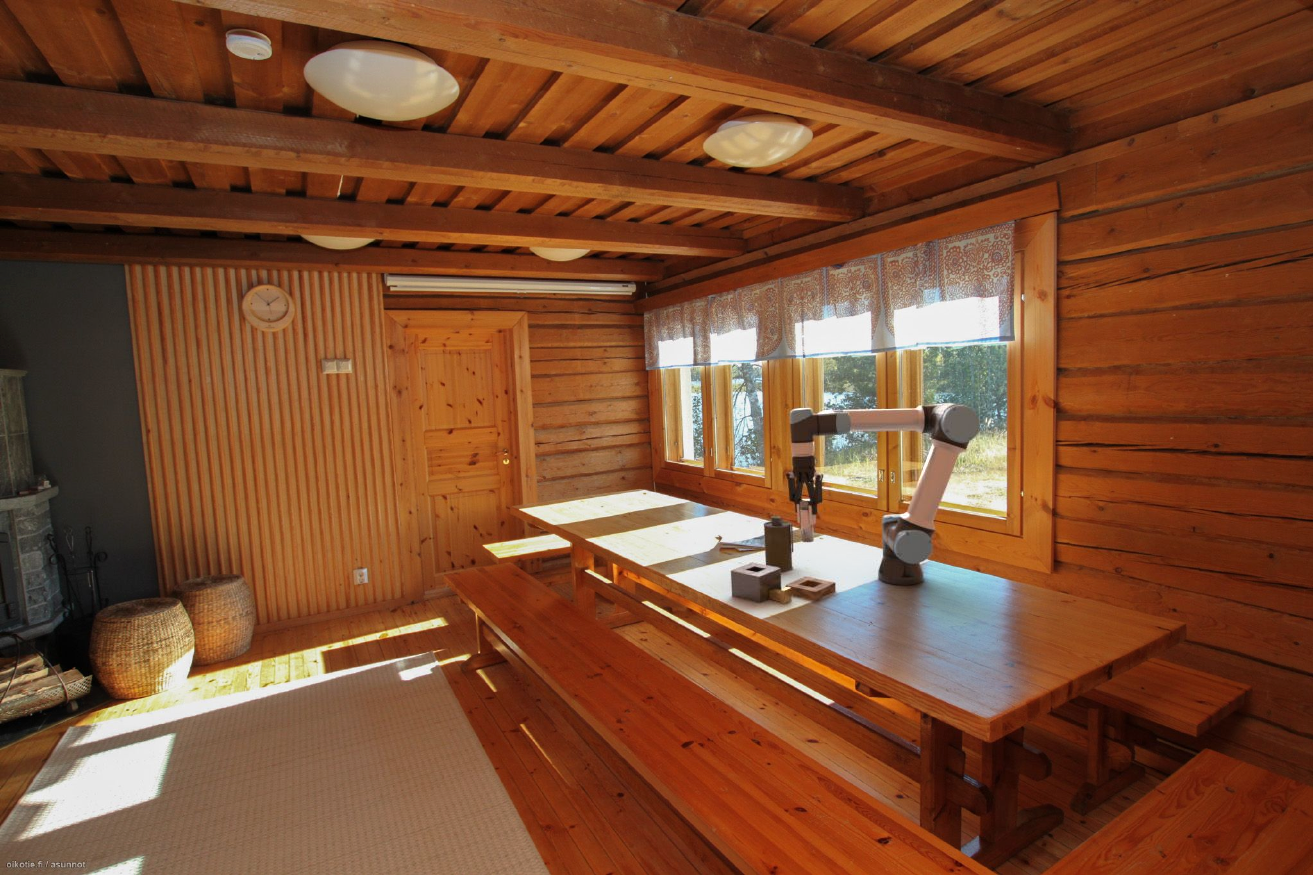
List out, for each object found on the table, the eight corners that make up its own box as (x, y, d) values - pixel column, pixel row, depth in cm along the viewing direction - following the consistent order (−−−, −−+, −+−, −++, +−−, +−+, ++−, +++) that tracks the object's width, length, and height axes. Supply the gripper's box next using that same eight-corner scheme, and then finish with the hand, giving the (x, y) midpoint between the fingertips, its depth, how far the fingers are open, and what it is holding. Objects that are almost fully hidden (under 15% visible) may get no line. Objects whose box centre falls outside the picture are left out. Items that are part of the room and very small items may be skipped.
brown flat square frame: (835, 591, 232) (835, 582, 232) (816, 600, 224) (815, 591, 223) (805, 584, 240) (805, 576, 240) (785, 593, 232) (785, 585, 232)
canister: (761, 570, 260) (759, 519, 258) (770, 563, 269) (768, 513, 267) (789, 573, 254) (787, 520, 253) (797, 565, 264) (795, 514, 262)
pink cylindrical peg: (816, 540, 230) (814, 499, 229) (809, 542, 227) (807, 501, 226) (806, 538, 233) (803, 498, 232) (799, 541, 230) (797, 500, 229)
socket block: (781, 593, 232) (780, 568, 231) (760, 603, 224) (759, 576, 223) (753, 587, 241) (752, 562, 240) (731, 596, 232) (730, 570, 232)
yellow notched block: (791, 600, 224) (791, 587, 224) (784, 604, 222) (784, 590, 221) (762, 593, 233) (761, 581, 233) (755, 596, 230) (754, 584, 230)
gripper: (831, 454, 224) (835, 523, 226) (788, 452, 236) (792, 518, 238) (819, 457, 219) (822, 528, 221) (775, 455, 231) (779, 522, 233)
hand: (806, 523), depth 230 cm, fingers closed on pink cylindrical peg, 4 cm apart
